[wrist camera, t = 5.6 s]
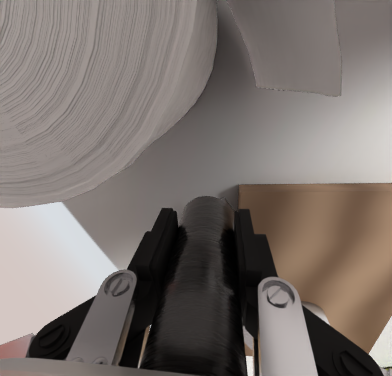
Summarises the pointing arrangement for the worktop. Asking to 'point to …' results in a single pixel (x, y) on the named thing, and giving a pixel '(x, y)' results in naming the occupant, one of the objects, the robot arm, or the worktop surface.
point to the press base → (330, 250)
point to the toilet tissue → (132, 79)
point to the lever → (200, 299)
